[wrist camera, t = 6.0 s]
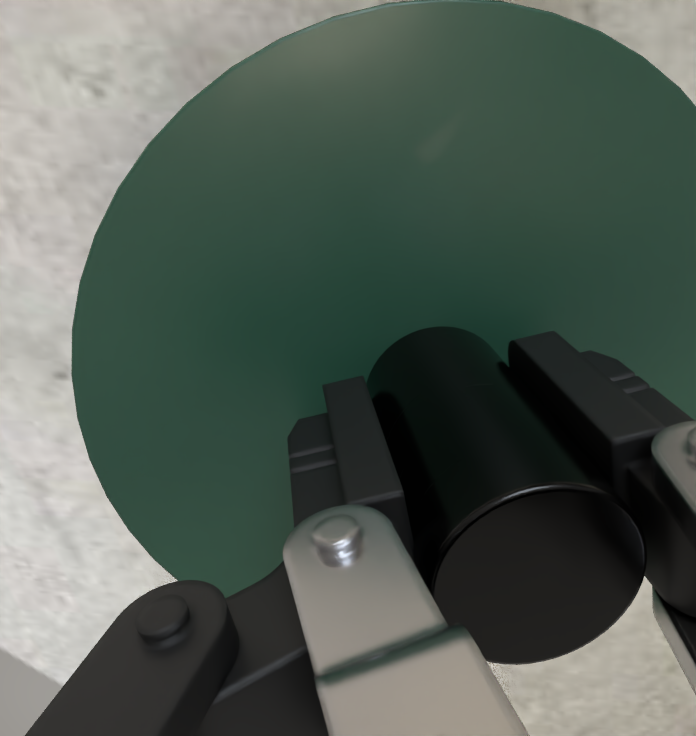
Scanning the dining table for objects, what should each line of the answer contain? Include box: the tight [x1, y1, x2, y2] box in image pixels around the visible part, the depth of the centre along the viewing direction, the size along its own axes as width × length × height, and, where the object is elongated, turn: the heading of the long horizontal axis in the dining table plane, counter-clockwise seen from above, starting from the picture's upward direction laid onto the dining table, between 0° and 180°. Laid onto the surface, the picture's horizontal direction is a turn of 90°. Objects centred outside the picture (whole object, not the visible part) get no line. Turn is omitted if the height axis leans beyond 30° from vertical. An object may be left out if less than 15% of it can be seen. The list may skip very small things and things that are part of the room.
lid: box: [72, 0, 696, 665], centre depth 10 cm, size 13×13×6 cm
